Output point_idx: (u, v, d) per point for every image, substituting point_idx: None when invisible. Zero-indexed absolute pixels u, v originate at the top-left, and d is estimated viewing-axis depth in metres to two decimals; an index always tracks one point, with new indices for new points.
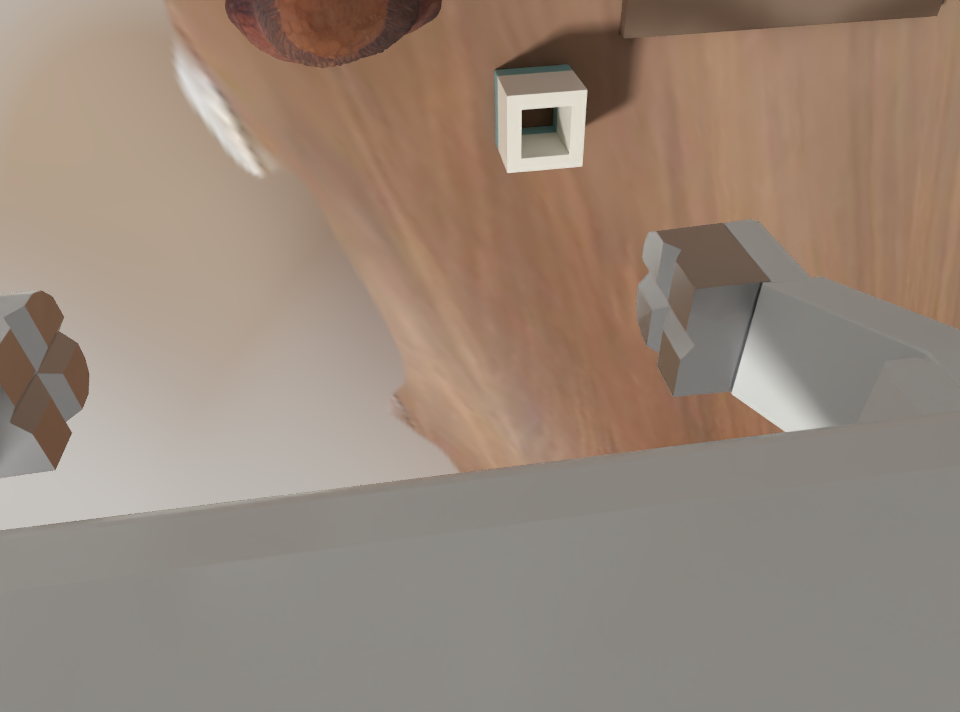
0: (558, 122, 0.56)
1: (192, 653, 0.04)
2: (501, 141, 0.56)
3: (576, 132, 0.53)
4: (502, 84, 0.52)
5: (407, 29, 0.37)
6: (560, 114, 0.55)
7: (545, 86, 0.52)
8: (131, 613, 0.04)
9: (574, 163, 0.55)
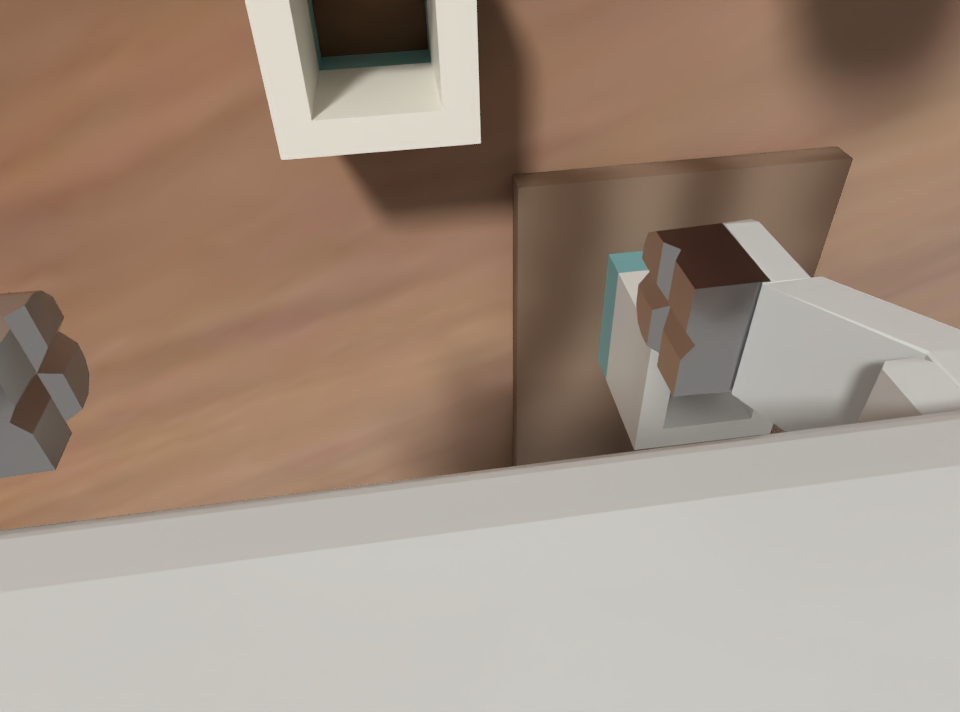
0: (348, 73, 0.23)
1: (192, 653, 0.04)
2: None
3: (372, 133, 0.20)
4: None
5: None
6: (375, 76, 0.23)
7: None
8: (131, 613, 0.04)
9: (287, 138, 0.20)
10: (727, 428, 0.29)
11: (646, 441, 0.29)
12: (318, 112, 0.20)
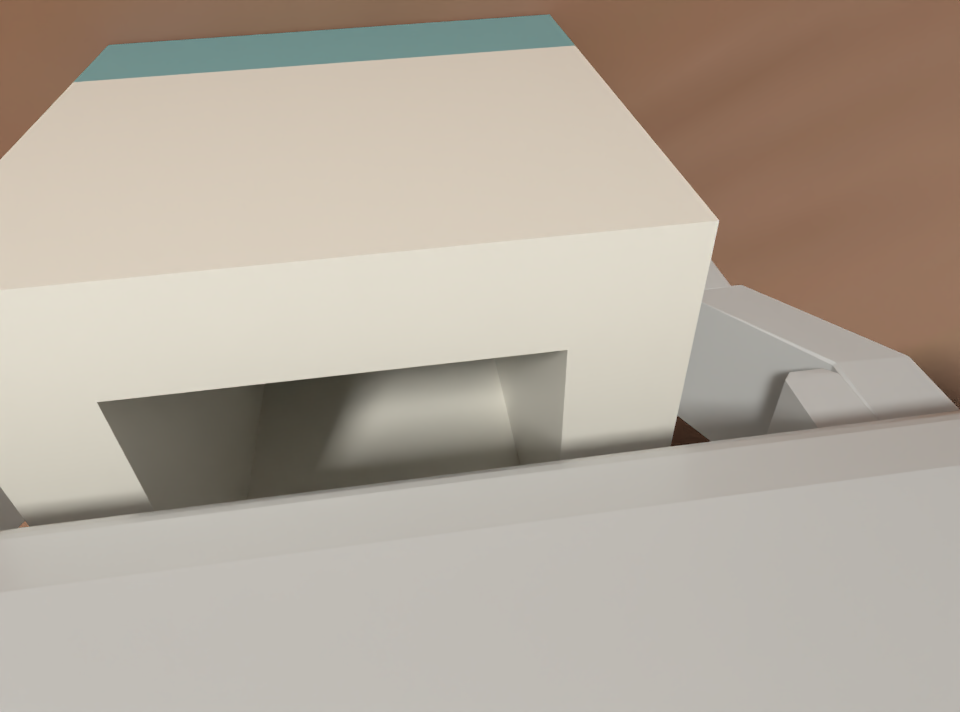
0: (326, 396, 0.11)
1: (191, 653, 0.04)
2: (168, 127, 0.07)
3: None
4: None
5: None
6: (381, 414, 0.11)
7: None
8: (130, 613, 0.04)
9: None
10: None
11: None
12: None
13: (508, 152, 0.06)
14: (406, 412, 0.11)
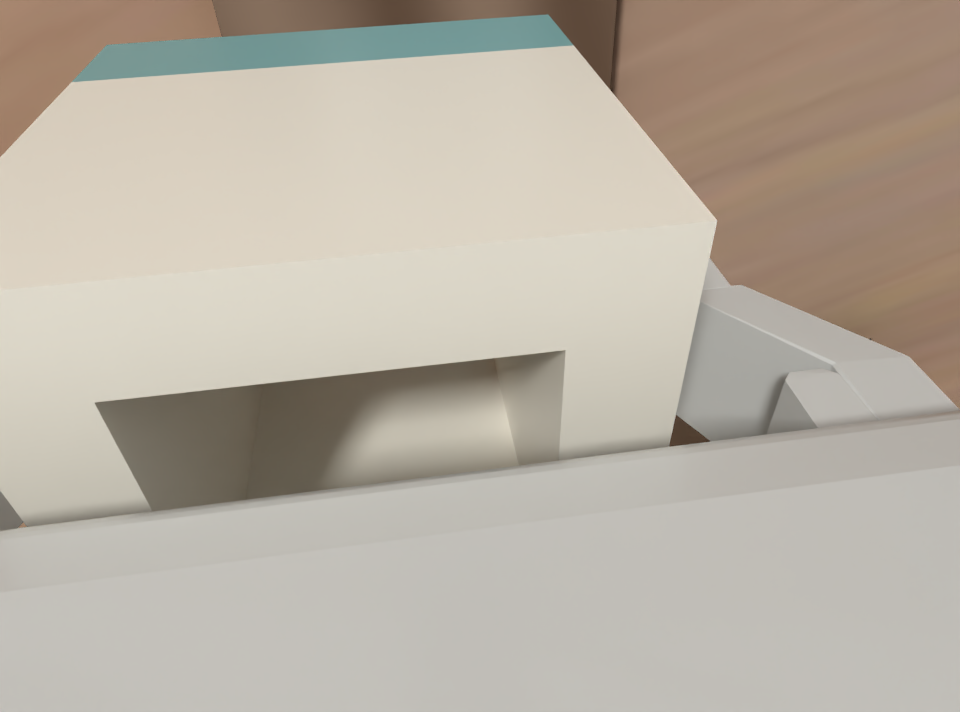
0: (324, 396, 0.11)
1: (192, 653, 0.04)
2: (166, 127, 0.07)
3: None
4: None
5: None
6: (380, 414, 0.11)
7: None
8: (131, 613, 0.04)
9: None
10: None
11: None
12: None
13: (506, 152, 0.06)
14: (405, 412, 0.11)
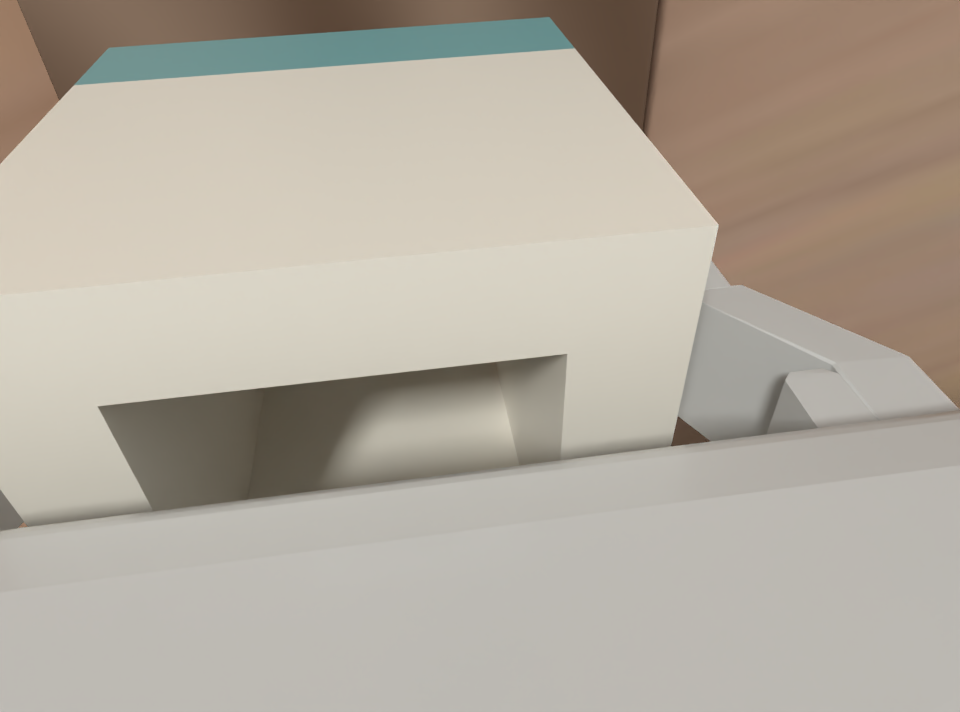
0: (326, 398, 0.11)
1: (192, 653, 0.04)
2: (168, 131, 0.07)
3: None
4: None
5: None
6: (381, 416, 0.11)
7: None
8: (131, 613, 0.04)
9: None
10: None
11: None
12: None
13: (508, 156, 0.06)
14: (406, 414, 0.11)
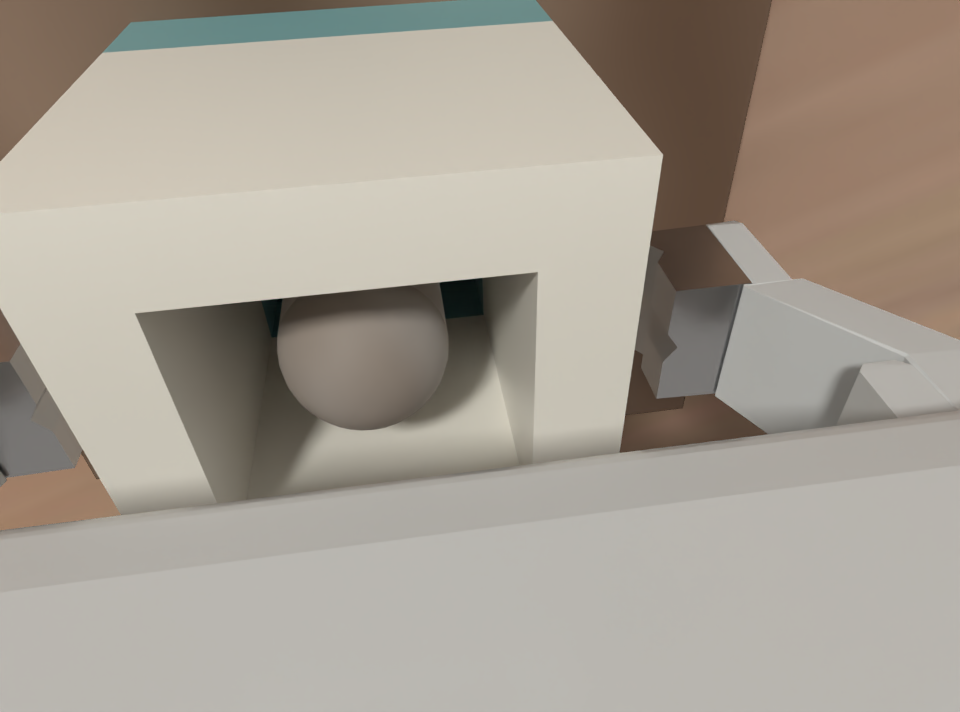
0: None
1: (192, 653, 0.04)
2: (190, 87, 0.08)
3: None
4: None
5: None
6: None
7: None
8: (131, 613, 0.04)
9: None
10: None
11: None
12: None
13: (488, 105, 0.07)
14: None
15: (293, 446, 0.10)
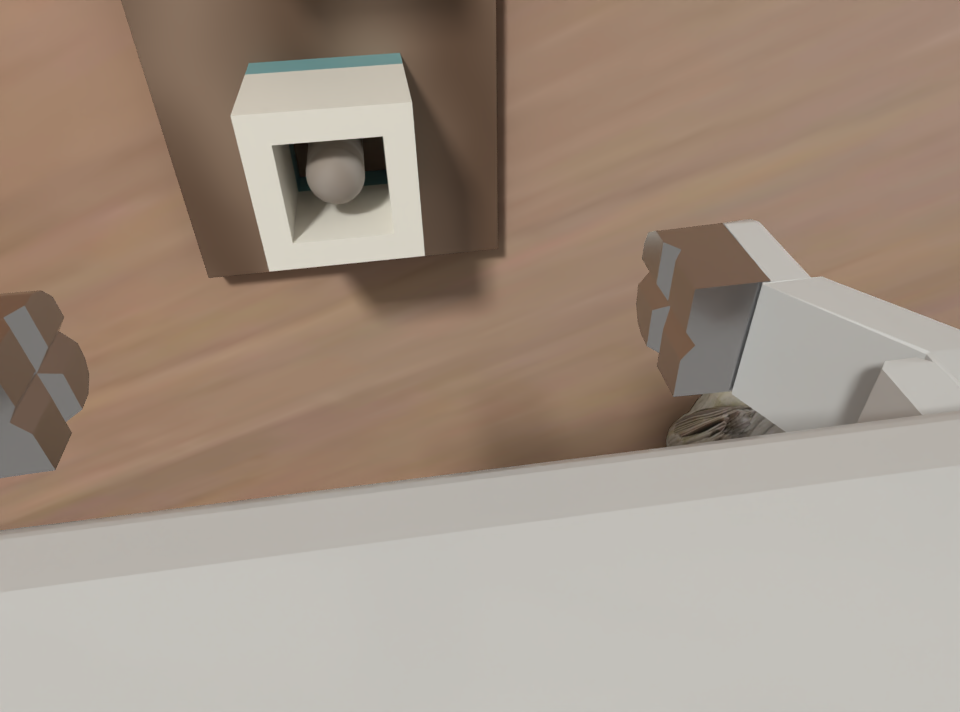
0: None
1: (192, 653, 0.04)
2: (280, 85, 0.25)
3: (340, 251, 0.27)
4: None
5: None
6: None
7: None
8: (131, 613, 0.04)
9: (273, 256, 0.26)
10: None
11: None
12: (298, 235, 0.27)
13: (370, 90, 0.24)
14: None
15: (309, 220, 0.27)
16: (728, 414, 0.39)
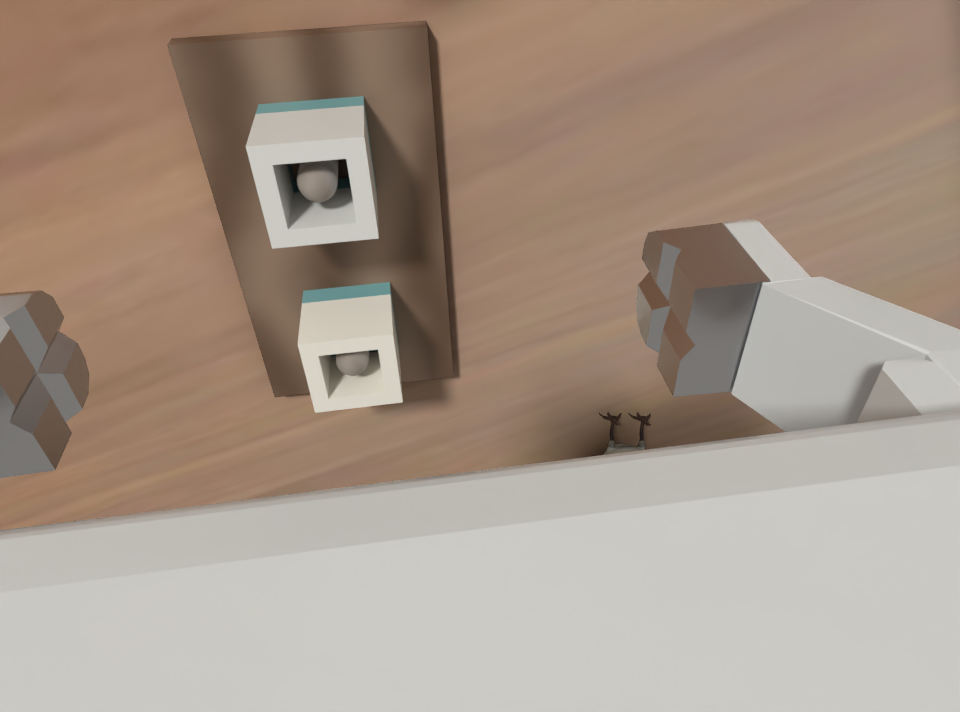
0: None
1: (192, 653, 0.04)
2: (322, 315, 0.46)
3: (354, 401, 0.47)
4: (391, 311, 0.46)
5: None
6: None
7: (397, 358, 0.47)
8: (131, 613, 0.04)
9: (318, 405, 0.47)
10: (341, 231, 0.39)
11: (278, 241, 0.39)
12: (331, 392, 0.47)
13: (371, 322, 0.45)
14: None
15: (337, 380, 0.48)
16: None
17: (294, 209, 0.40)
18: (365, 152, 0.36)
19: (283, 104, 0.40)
